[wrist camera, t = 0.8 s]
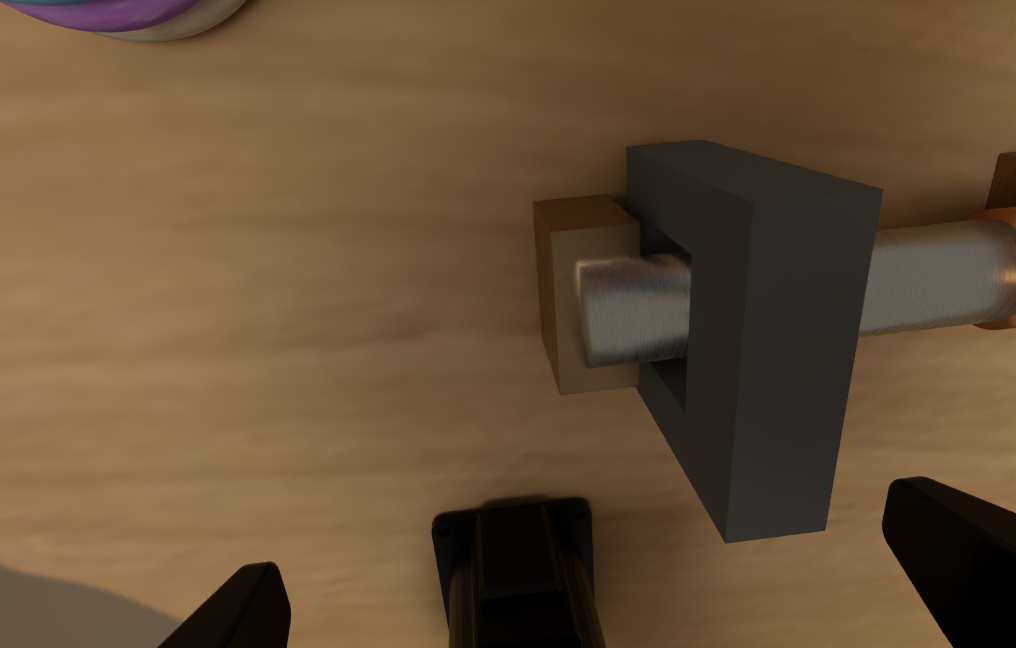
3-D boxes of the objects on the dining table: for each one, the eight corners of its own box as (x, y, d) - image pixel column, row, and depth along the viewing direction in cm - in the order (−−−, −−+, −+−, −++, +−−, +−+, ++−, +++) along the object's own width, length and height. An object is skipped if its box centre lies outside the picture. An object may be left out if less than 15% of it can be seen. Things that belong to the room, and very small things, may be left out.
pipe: (541, 339, 21) (570, 427, 16) (532, 201, 19) (562, 250, 14) (1028, 284, 22) (1208, 350, 17) (1067, 146, 20) (1286, 173, 15)
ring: (627, 372, 22) (725, 543, 14) (626, 147, 18) (753, 203, 11) (691, 365, 22) (825, 530, 14) (701, 140, 18) (883, 189, 11)
